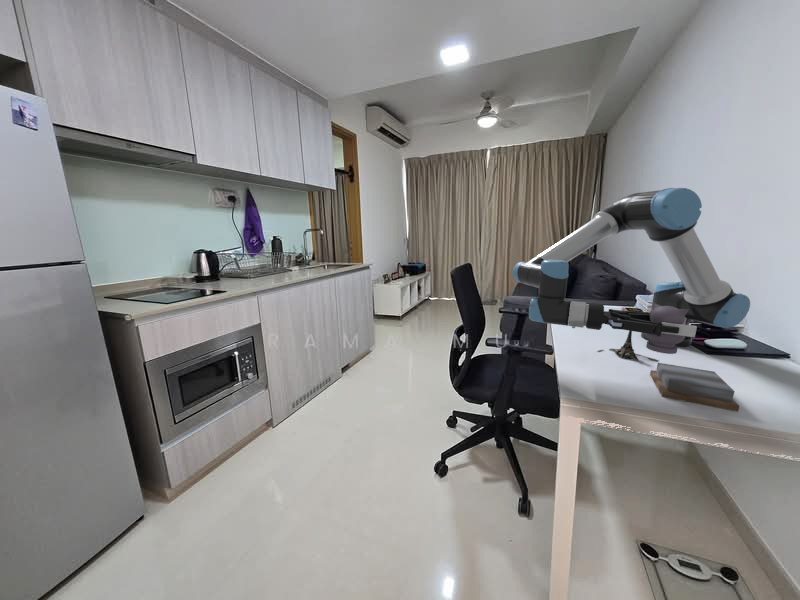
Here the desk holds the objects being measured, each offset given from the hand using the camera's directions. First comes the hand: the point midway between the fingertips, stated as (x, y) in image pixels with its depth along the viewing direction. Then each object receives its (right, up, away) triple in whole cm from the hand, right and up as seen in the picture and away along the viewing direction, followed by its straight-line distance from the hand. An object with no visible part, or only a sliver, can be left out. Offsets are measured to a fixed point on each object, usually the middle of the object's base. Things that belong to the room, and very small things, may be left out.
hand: (689, 327), depth 78 cm
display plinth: (+3, -17, +3) cm, 18 cm away
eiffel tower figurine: (+4, -13, +26) cm, 29 cm away
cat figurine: (-4, -6, +4) cm, 9 cm away
